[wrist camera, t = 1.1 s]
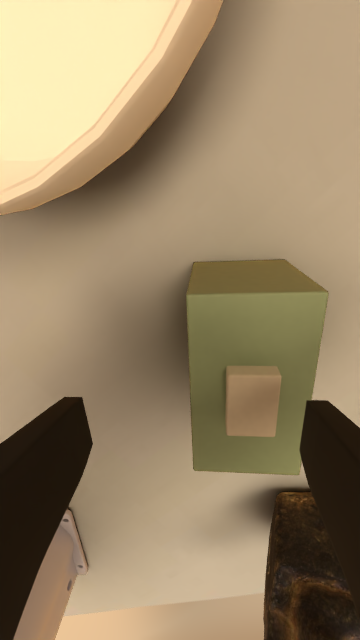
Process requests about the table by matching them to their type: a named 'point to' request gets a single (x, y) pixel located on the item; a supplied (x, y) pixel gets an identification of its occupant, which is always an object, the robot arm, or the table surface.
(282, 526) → the statue
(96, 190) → the table surface
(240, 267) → the tissue box
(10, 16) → the bowl
